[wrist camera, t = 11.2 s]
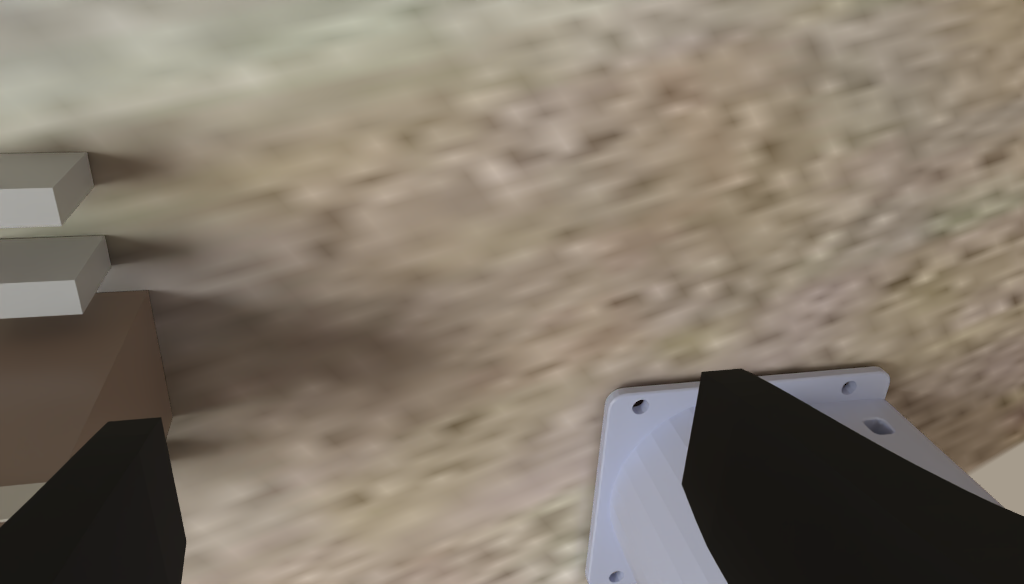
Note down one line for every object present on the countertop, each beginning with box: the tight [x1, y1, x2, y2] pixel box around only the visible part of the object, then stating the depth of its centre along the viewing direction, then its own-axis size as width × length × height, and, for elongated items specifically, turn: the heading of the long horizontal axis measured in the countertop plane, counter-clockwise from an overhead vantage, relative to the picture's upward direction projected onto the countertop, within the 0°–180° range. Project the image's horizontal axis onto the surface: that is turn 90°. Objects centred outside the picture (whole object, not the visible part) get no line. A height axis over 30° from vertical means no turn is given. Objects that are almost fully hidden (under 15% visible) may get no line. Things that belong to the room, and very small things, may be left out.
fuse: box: [0, 290, 173, 527], centre depth 16 cm, size 4×4×8 cm
